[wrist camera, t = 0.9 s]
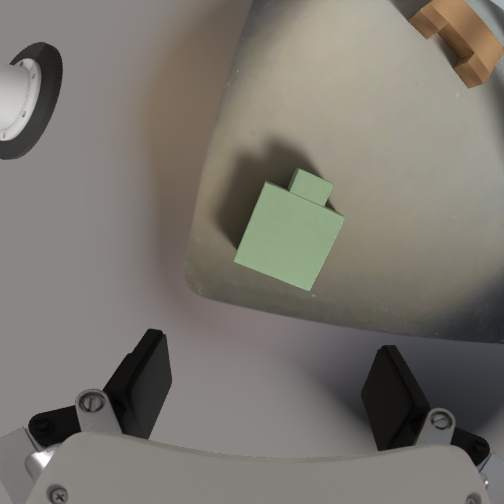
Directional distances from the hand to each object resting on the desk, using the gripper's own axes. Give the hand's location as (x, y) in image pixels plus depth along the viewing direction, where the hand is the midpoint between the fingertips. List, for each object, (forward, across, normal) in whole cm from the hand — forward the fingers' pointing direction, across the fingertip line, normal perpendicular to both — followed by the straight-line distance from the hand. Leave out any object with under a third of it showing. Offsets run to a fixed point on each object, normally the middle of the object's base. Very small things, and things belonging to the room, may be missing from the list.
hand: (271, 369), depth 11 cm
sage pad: (+15, -1, -3) cm, 16 cm away
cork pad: (+15, -20, -28) cm, 38 cm away
